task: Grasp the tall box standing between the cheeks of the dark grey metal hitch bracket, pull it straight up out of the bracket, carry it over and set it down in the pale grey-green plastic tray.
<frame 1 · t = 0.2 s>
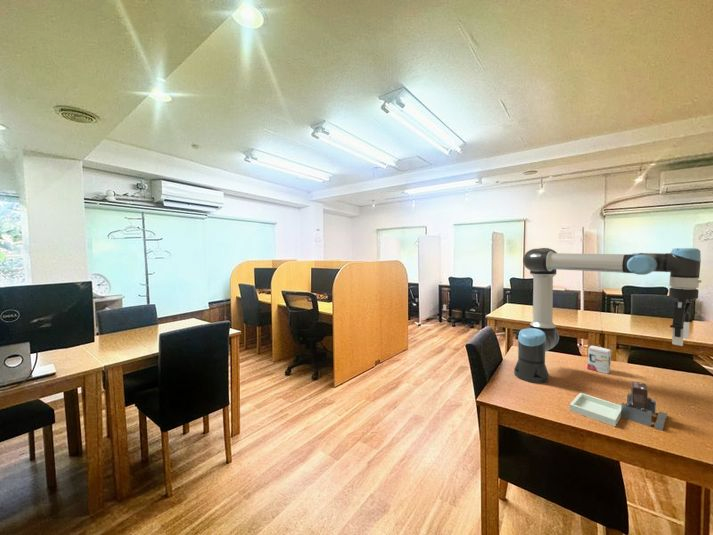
hand: (680, 341, 113), 27 cm above the table, fingers open, 13 cm apart
tray: (596, 411, 115), on the table
hitch bracket: (638, 414, 112), on the table
box: (638, 415, 112), on the table
ink box: (598, 370, 151), on the table
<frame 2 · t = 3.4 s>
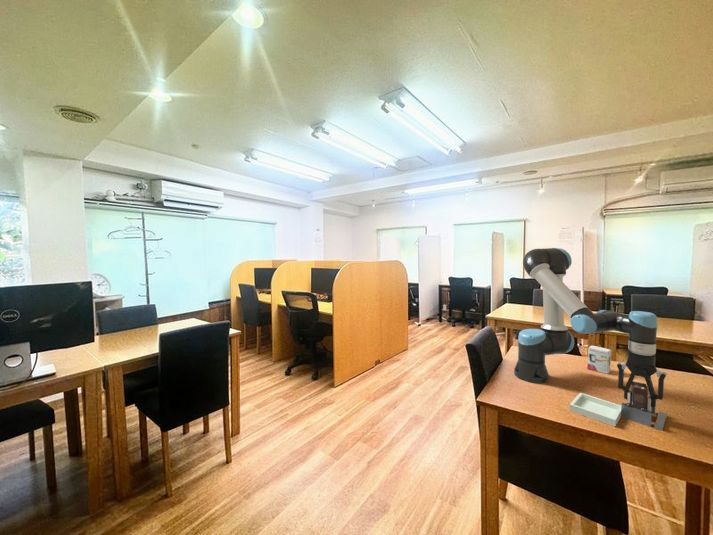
hand: (638, 410, 111), 2 cm above the table, fingers closed on box, 5 cm apart
box: (638, 415, 112), on the table, touching gripper
everything else where it was.
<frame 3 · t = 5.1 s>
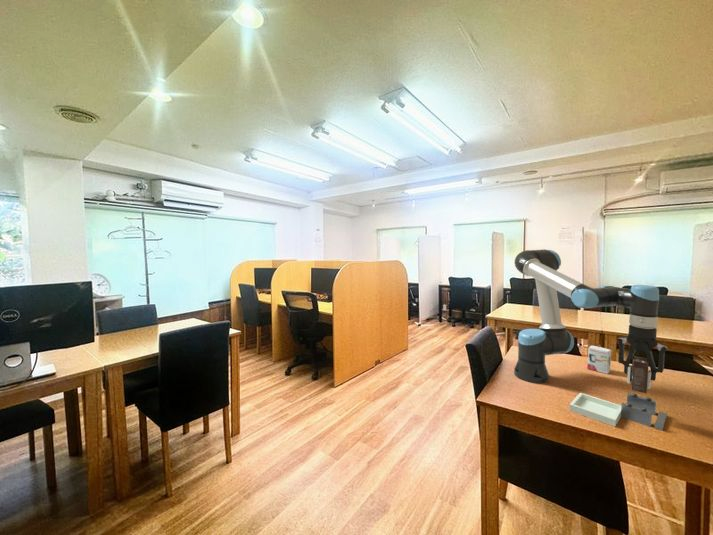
hand: (638, 384, 111), 12 cm above the table, fingers closed on box, 5 cm apart
box: (637, 389, 111), point 10 cm above the table, touching gripper
everything else where it was.
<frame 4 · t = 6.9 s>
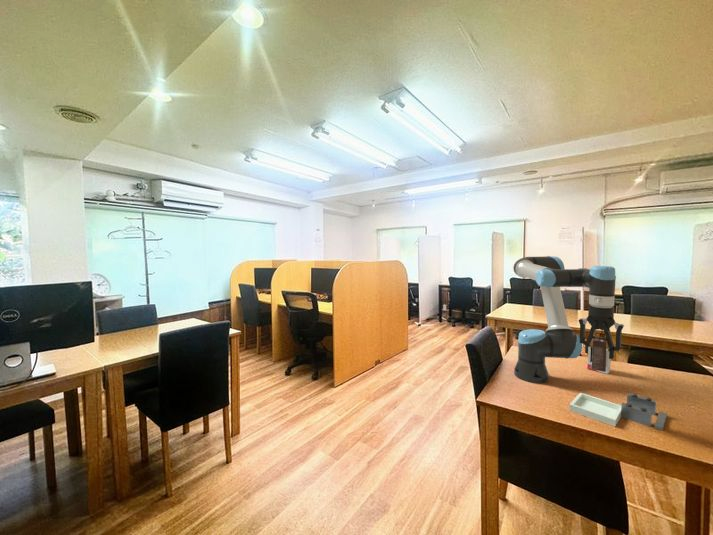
hand: (598, 363, 113), 20 cm above the table, fingers closed on box, 5 cm apart
box: (598, 368, 114), point 18 cm above the table, touching gripper
everything else where it was.
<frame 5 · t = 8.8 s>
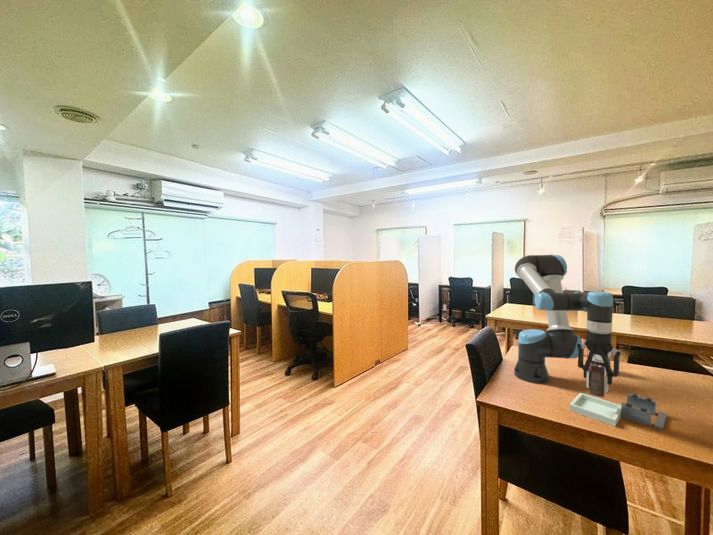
hand: (597, 388, 114), 9 cm above the table, fingers closed on box, 5 cm apart
box: (596, 393, 114), point 7 cm above the table, touching gripper
everything else where it was.
when the fingers open (3 cm above the table, at t = 10.3 s): box stays where it is, resting on tray.
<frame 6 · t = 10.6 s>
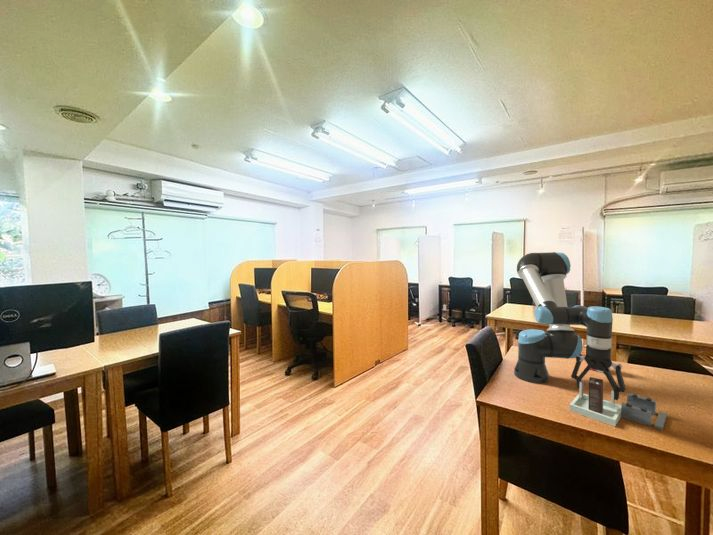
hand: (596, 401, 114), 4 cm above the table, fingers open, 9 cm apart
box: (595, 410, 115), resting on tray
everything else where it was.
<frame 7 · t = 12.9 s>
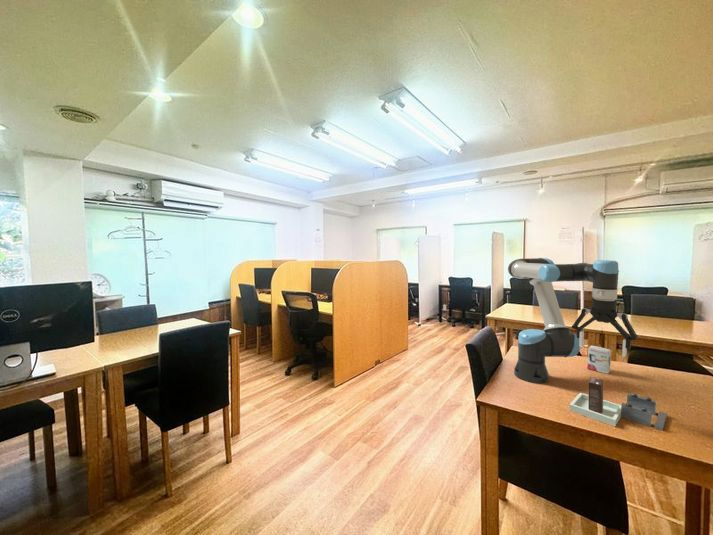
hand: (601, 350, 116), 23 cm above the table, fingers open, 13 cm apart
nothing on the table moved.
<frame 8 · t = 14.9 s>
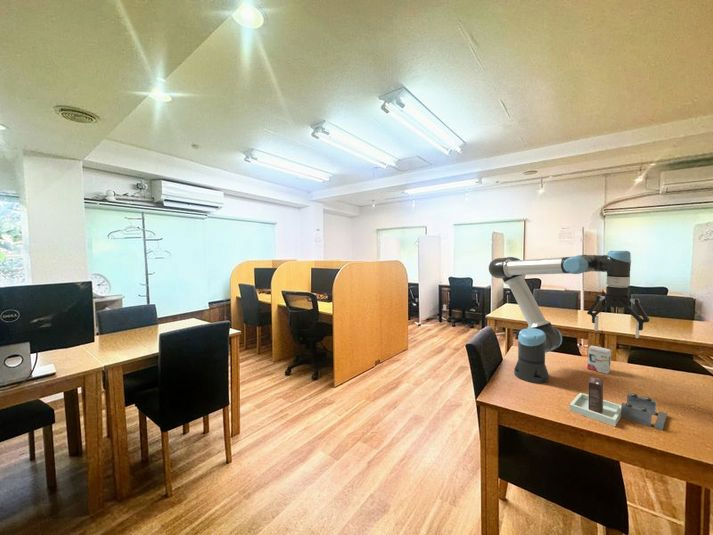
hand: (615, 333, 127), 27 cm above the table, fingers open, 13 cm apart
nothing on the table moved.
at the end: box inside the target area on the tray (0.3 cm from its centre), point 0.4 cm above the tray's base; the gripper is holding nothing; box moved 14.4 cm from its start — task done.
